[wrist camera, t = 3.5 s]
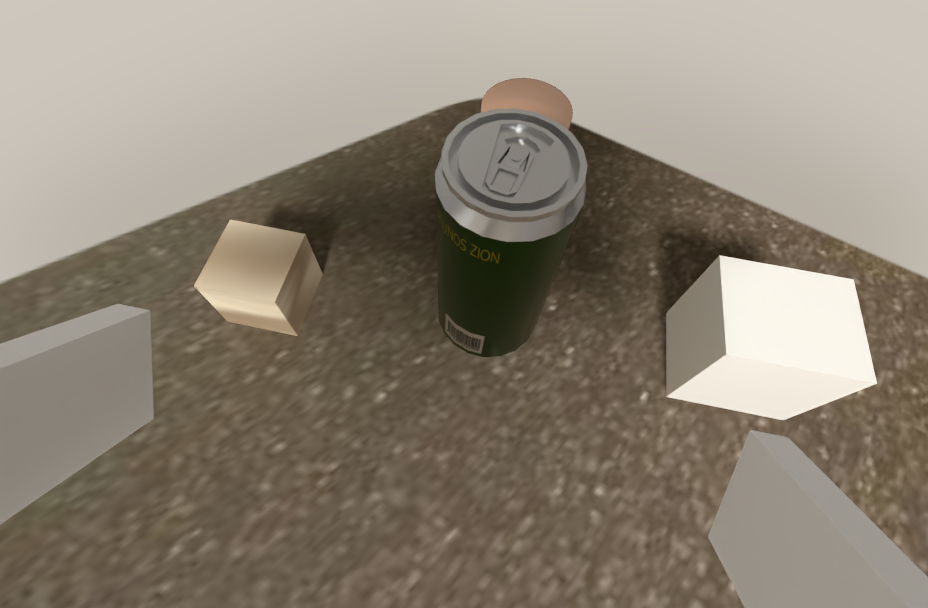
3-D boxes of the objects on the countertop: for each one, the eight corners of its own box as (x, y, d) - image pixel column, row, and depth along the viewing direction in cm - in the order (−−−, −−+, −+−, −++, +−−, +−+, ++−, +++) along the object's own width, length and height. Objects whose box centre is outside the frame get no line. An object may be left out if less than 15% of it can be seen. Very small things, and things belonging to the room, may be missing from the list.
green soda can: (514, 377, 25) (567, 247, 14) (422, 339, 26) (406, 189, 15) (546, 295, 27) (612, 131, 17) (460, 263, 28) (471, 86, 17)
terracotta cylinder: (564, 201, 31) (589, 127, 25) (494, 223, 29) (504, 151, 24) (530, 148, 33) (546, 70, 27) (463, 167, 32) (467, 89, 26)
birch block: (298, 336, 26) (274, 301, 22) (228, 322, 26) (193, 285, 22) (323, 274, 27) (305, 234, 24) (257, 262, 28) (230, 219, 24)
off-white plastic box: (782, 420, 24) (876, 383, 19) (665, 396, 25) (726, 354, 19) (772, 334, 27) (853, 279, 21) (665, 313, 27) (719, 255, 22)
